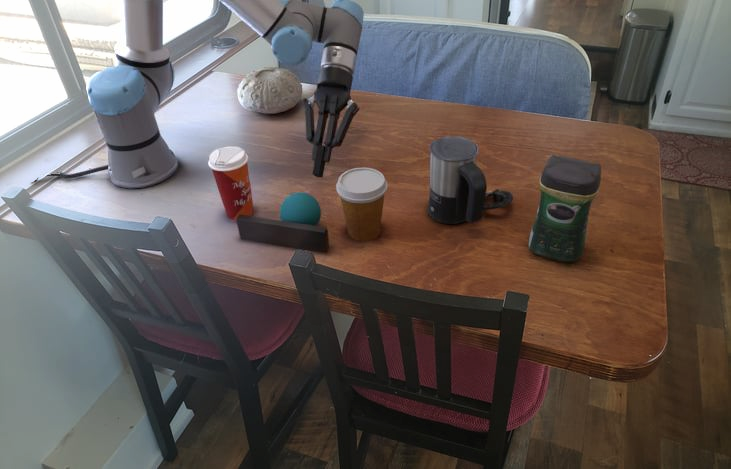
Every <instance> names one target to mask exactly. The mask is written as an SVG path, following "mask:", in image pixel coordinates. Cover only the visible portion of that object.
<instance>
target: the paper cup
mask: <svg viewBox="0 0 731 469" xmlns="http://www.w3.org/2000/svg"><path fill="white" fill-rule="evenodd" d="M208 159H209V160H208V162H207V164H208V167H209V168H210V169H211V172H212V175H213V178H214V181H215V184H216V187H217V190H218V193H219V196H220V199H221V202H222V206H223V208H224V211H225V214H226V216H227V218H228V219H229V220H230V221H235V222H236V218H237V217H238V216H239V214H241V215H247V216H253V214H254V210H255V209H254V201H253V194H252V187H251V180H250V173H249V164H248V161H249V155H248V154H247V153H246V151H245V150H244V149H243V148H241V147H239V146H231V145H230V146H224V147H220V148H217V149H215V150H213V151H212V152H211V153H210V155H209V158H208Z"/></svg>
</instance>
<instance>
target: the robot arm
mask: <svg viewBox="0 0 731 469" xmlns="http://www.w3.org/2000/svg"><path fill="white" fill-rule="evenodd" d="M218 1H219V2H220V3H222V4H223V5H224V6H225V7H226V8H227V9H228V10H230V11H231V13H233V14H234V15H236V16H237V17H238V18H239V19H240V20H241V21H242V22H244V23H245V24H246V25H247V26H248V27H250V28H251V29H252V30H253V31H254V32H255V33H257V35H259V36H260V37H261V38H262V39H264V40H265V41H266V42H267V43H268V44H269V45H271V51H272V54H273V56H274V57H275V58H276V60H277V61H278V62H280V63H281V64H282V65H285V66H292V67H293V66H299V65H301V64H302V63H304V62H305V61H306V60H307V58H308V57H309V55H310V54H311V51H312V49H313V42H315V43H318V44H320V43H321V44H324V45H323V51H322V56H321V62H320V69H319V71H318V75H317V76H318V78H317V83H316V89H315V90H314V91H313V94H312V96H310V97H308V98H306V97H303V98H302V99H301V103H302V104H303V107H304V115H305V118H304V119H305V138H306V141H307V142H309V143H310V144H311V145H313V146H312V152H311V160H312V161H314V163H313V169H312V175H313V176H314V177H316V178H322V179H323V177H324V173H325V166H326V163H327V164H329V163H330V161H331V157H332V153H333V152H332V151H333V149H334V148H336V147H337V148H340V147H341V146H342V144H343V142H344V140H345V137H346V135H347V133H348V130H349V129H350V126H351V124H352V122H353V120H354V117H355V116H356V114H358V112H359V111H360V107H359V105H358V104H357V103H356V102H354V101H352V97H351V92H352V86H353V81H354V76H353V75H354V74H355V69H356V62H357V58H358V52H359V48H360V47H359V46H360V41H361V36H362V32H363V23H364V16H365V13H364V9H363V7H362V6H361V5H360V4H359V3H357V2H356V1H354V0H334V1H333V2H332V4H331V6H330V7H328V6H327V7H325V6H322V5H319V4H314V3H310V2H307V1H306V2H305V1H301V0H218ZM119 3H120V4H119V6H120V20H121V21H120V26H121V27H120V28H121V40H120V41H119V42H118V43H116V44H115V46H114V55H115V65H113V66H109V67H106V68H104V69H103V70H100V71H97V72H96V73H94V74H93V75H92V76H91V77H90V78H89V79H88V81H87V83H86V93H87V97H88V102H89V105H90V107H91V108H92V111H93V113H94V116H95V119H96V121H97V123H98V126H99V129H100V131H101V133H102V134H101V135H102V136H103V139H104V141H105V144H106V147H107V160H108V164H105V165H102V166H97V167H93V168H90V169H86V170H83V171H79V172H75V173H66V172H63V171H59V172H60V174H51V175H47V176H46V177H62V178H64V179H75V178H81V177H84V176H87V175H91V174H95V173H99V172H102V171H108V175H109V178H110V180H111V182H112V184H114V185H115V186H117V187H120V188H124V189H142V188H147V187H152V186H154V185H157V184H159V183H162V182H164V181H166V180H167V179H169V178H170V177H172V175H174V174H175V172H176V171H177V170H178V166H179V163H178V160H177V157H176V154H175V153H174V151H173V150H172V149H170V147H169V145H168V144H167V142H166V141H165V139H164V138H163V137H162V135H161V132H160V129H159V125H158V122H157V119H156V115H155V112H156V111H157V110H158V109H159V107H160V105H161V104H162V103H163V101H164V100H165V98H166V97H168V95H169V94H170V93H171V91H172V88H173V86H174V82H175V76H176V74H175V69H174V65H173V64H172V61H171V60H170V59H171V58H170V56H171V55H170V54H171V53H170V50H169V49H168V48H167V47H166V45H164V0H119ZM315 103H316V104H315ZM315 105H316V106H317V108H318V116H317V120H316V121H317V122H316V126H315V111H314V108H315ZM345 108H346V110H345V112H344V114H343V116H342V119H341V122H340V123H339V126H338V122H339V119H340V116H341V115H340V114H341V113H342V111H343V110H344V109H345ZM327 122H328V123H327ZM326 127H327V128H326ZM325 133H326V135H325ZM324 138H325V139H324Z"/></svg>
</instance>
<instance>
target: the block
mask: <svg viewBox="0 0 731 469" xmlns="http://www.w3.org/2000/svg"><path fill="white" fill-rule="evenodd" d="M235 222H236V226H237V230H238V235H239V239H240V240H242V241H243V240H244V241H248V242H249V241H250V242H255V243H261V244H267V245H274V246H280V247H285V248H286V247H287V248H292V249H298V250H304V251H305V250H306V251H311V252H316V253H324V254H327V253H328V251H329V250H330V242H329V232H328V231H329V230H328V227H327V226H321V225H317V226H314V225H308V224H301V223H294V222H287V221H281V219H273V218H267V217H260V216H254V215H252V216H247V215H241V214H239V216H238V217H237V218H236V221H235Z"/></svg>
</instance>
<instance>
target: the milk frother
mask: <svg viewBox="0 0 731 469" xmlns="http://www.w3.org/2000/svg"><path fill="white" fill-rule="evenodd" d="M428 147H429V152H430V158H429V159H430V161H429V162H430V163H429V164H430V165H429V172H430V173H429V200H428V205H427V214H428V215H429V217H430V218H432V219H433V220H434V221H436V222H439V223H442V224H449V225H454V224H455V225H456V224H460V223H464V222H467V223H469V224H474V223H477V222H479V221H481V220H482V217H483V212H484V211H489V210H497V209H501V208H503V207H506V206H508V205H510V204H511V203H512V202H513V201H514V194H513V193H511V192H510V191H508V190H500V189H499V188H495V189H494V190H489V191H488V192H487V190H488V188H487V187H488V185H487V179H486V175H485V174H484V172H483V170H482V169H481V168H480V167H479V166H478V165H477V155H478V153H479V150H480V148H479V146H478V144H477V143H476V142H475V141H473V140H471V139H469V138H466V137H461V136H443V137H440V138H437V139H435V140H434V141H432V142H431V143H430V144H429V146H428ZM489 198H492V201H493V203H487V202H485V201H486V200H487V199H489Z"/></svg>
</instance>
